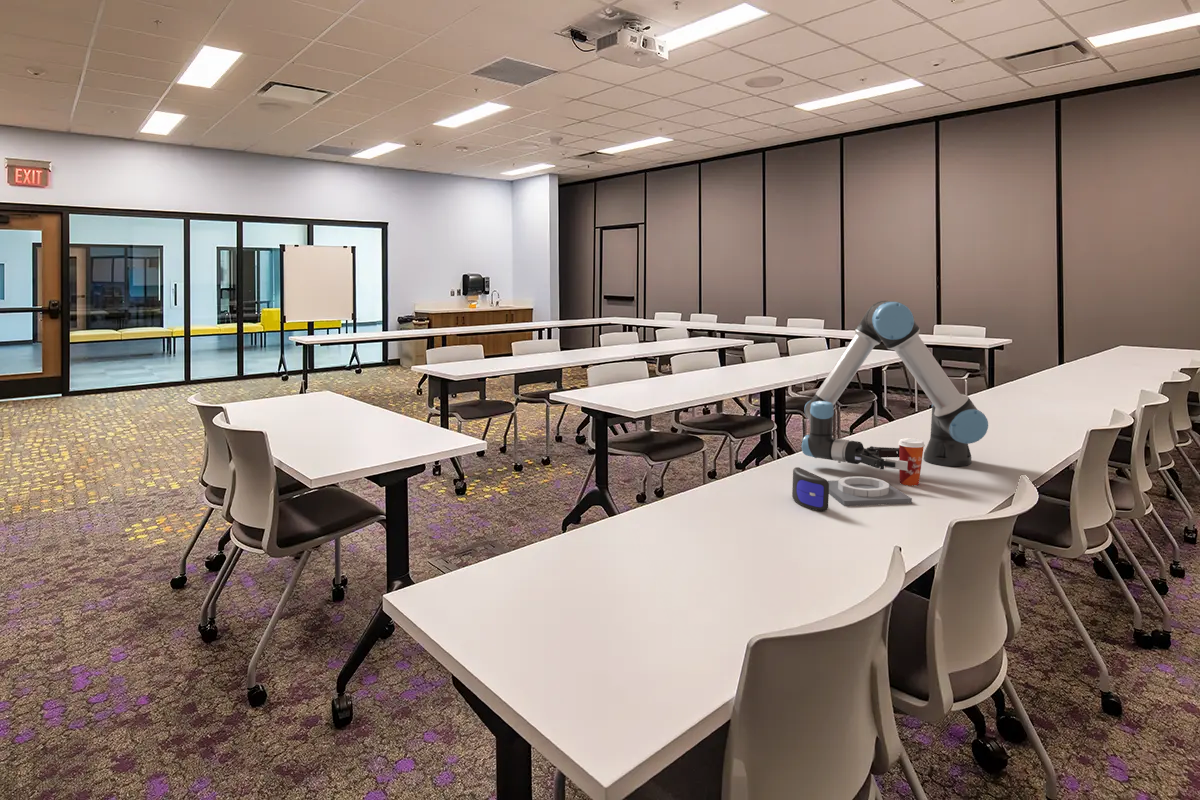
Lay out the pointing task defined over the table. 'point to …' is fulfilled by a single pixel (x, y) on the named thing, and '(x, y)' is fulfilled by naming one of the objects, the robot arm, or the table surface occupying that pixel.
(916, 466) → the paper cup
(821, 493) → the leaning round-cornered charcoal block
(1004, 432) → the table surface
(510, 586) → the table surface
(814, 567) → the table surface
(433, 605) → the table surface
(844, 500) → the collar board
